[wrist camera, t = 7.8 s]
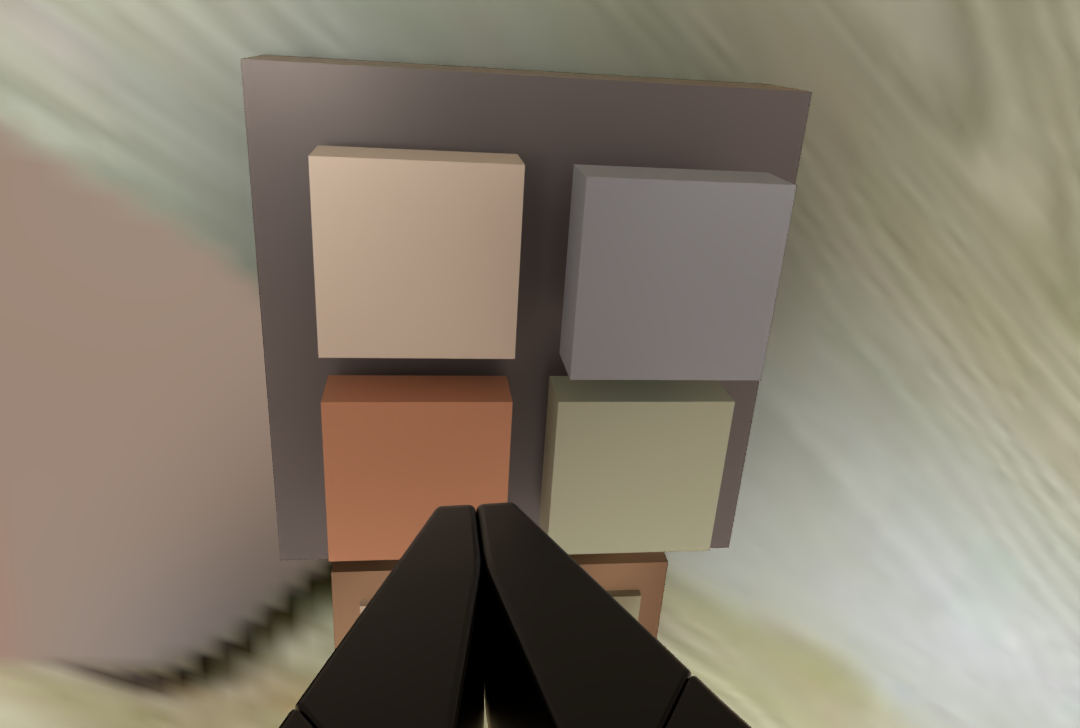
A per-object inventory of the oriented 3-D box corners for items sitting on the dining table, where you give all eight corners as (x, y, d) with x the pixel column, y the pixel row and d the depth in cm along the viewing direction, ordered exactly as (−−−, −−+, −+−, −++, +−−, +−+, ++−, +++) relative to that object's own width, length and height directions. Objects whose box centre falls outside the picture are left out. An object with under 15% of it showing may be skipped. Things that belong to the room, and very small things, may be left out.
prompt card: (662, 549, 25) (670, 568, 24) (646, 659, 26) (653, 680, 26) (333, 559, 23) (330, 579, 22) (338, 675, 25) (335, 696, 24)
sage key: (678, 332, 22) (734, 401, 18) (660, 459, 23) (709, 550, 19) (533, 330, 21) (558, 401, 17) (525, 461, 23) (546, 555, 19)
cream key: (504, 135, 19) (524, 164, 15) (497, 294, 21) (515, 359, 17) (334, 127, 19) (307, 155, 15) (340, 291, 20) (318, 358, 16)
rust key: (496, 330, 21) (512, 402, 17) (490, 462, 23) (504, 556, 19) (341, 328, 20) (320, 402, 16) (346, 463, 22) (328, 561, 18)
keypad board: (768, 84, 20) (812, 91, 17) (701, 500, 24) (728, 547, 22) (263, 54, 18) (240, 58, 16) (294, 508, 22) (280, 560, 20)
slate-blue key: (717, 151, 19) (796, 184, 15) (695, 310, 20) (760, 380, 16) (552, 143, 18) (586, 176, 14) (541, 307, 20) (570, 380, 16)
